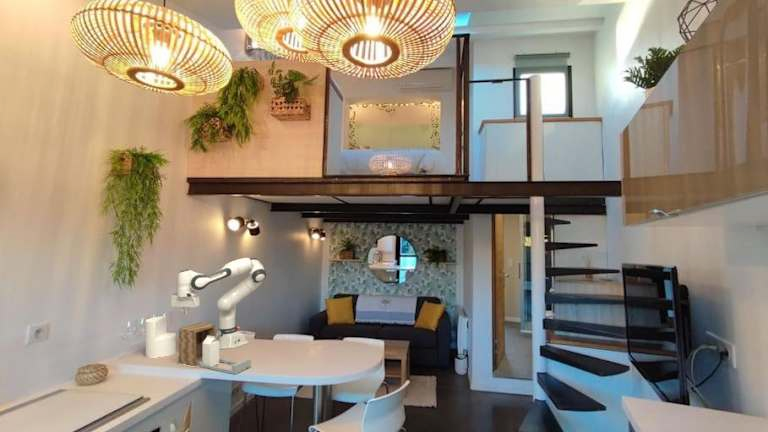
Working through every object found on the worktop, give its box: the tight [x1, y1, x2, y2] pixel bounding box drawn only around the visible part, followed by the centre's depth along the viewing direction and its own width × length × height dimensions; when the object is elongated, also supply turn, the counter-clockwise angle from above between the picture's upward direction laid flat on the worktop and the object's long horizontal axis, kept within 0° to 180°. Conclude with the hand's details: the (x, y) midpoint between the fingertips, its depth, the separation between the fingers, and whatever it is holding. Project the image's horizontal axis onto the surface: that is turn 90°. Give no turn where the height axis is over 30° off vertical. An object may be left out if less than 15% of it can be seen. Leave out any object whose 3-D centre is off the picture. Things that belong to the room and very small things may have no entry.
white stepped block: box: [145, 315, 177, 359], centre depth 268 cm, size 19×19×25 cm
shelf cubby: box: [178, 322, 216, 367], centre depth 250 cm, size 14×16×24 cm
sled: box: [198, 358, 252, 375], centre depth 240 cm, size 32×12×5 cm, turn 65°
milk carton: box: [202, 335, 220, 366], centre depth 244 cm, size 7×7×19 cm
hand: (185, 313), depth 256 cm, fingers closed
